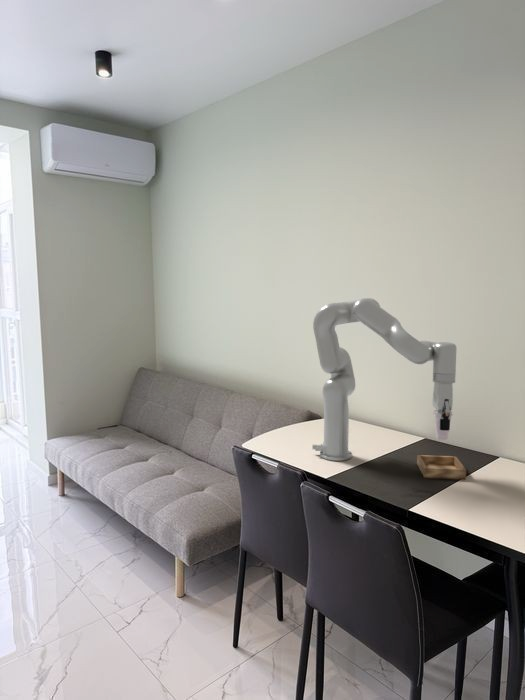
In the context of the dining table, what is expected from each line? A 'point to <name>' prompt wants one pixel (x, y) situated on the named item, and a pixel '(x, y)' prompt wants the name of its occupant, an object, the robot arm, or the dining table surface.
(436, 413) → the smoothie
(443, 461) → the box
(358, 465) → the dining table surface
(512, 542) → the dining table surface
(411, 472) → the dining table surface
